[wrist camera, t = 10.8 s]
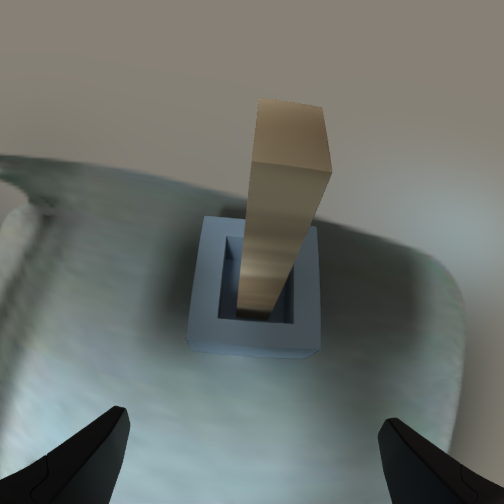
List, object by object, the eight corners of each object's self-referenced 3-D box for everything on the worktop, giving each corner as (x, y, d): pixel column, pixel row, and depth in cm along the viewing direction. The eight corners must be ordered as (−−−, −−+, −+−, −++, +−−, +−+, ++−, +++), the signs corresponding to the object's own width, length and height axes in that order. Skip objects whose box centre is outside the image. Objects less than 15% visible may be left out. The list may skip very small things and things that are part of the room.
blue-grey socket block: (304, 358, 18) (321, 348, 15) (193, 350, 18) (185, 339, 14) (304, 253, 22) (316, 226, 18) (207, 244, 21) (204, 215, 18)
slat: (267, 320, 18) (332, 172, 7) (235, 317, 18) (251, 160, 7) (270, 276, 20) (321, 107, 8) (240, 273, 20) (259, 97, 8)
